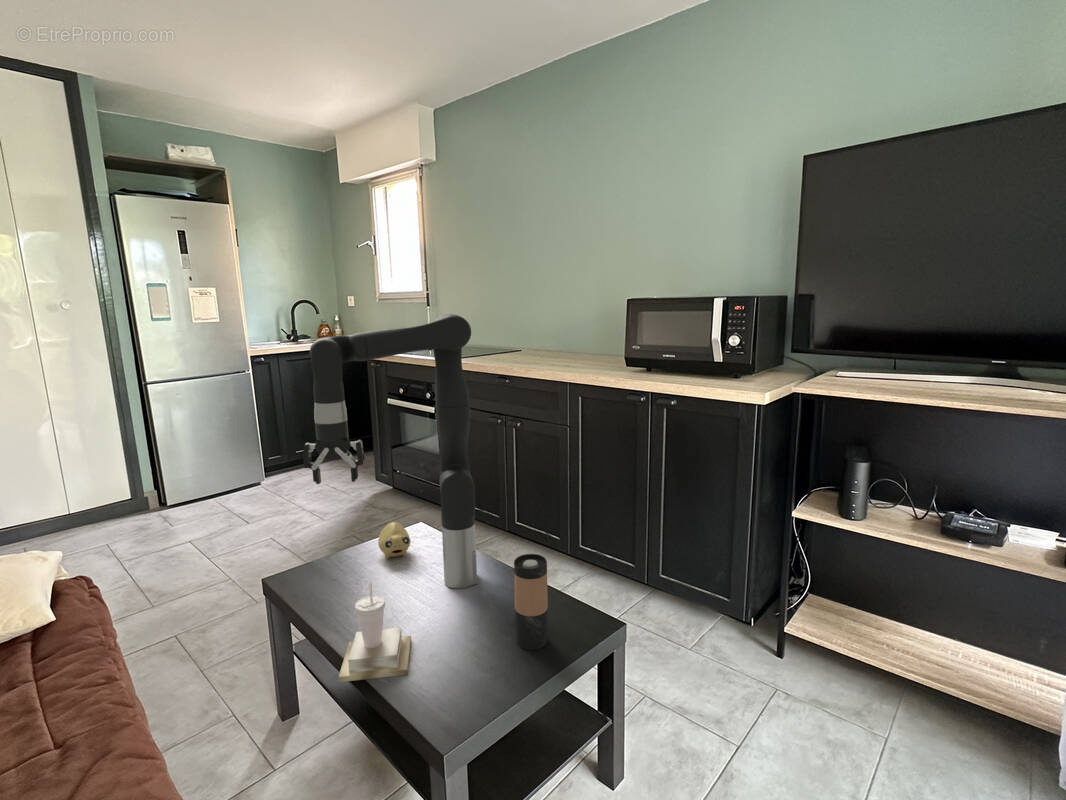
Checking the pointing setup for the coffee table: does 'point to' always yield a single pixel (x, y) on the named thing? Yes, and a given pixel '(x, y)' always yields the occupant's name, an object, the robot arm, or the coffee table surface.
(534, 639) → the travel mug
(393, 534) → the yellow toy creature
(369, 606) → the smoothie
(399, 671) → the base
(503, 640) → the coffee table surface
